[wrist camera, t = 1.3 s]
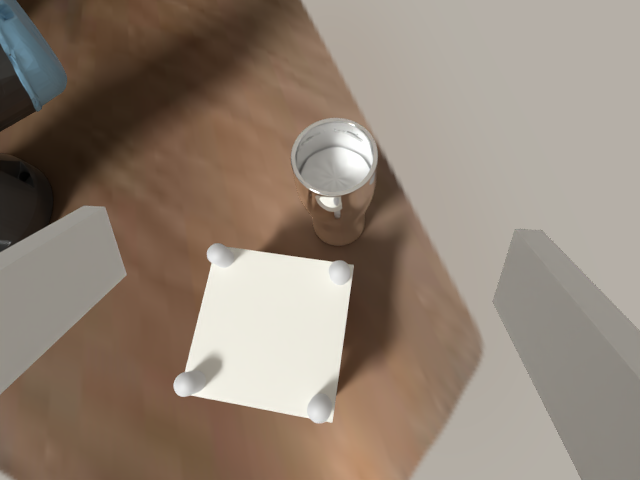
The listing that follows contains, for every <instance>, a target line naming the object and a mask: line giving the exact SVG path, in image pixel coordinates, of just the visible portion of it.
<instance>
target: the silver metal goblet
mask: <svg viewBox="0 0 640 480" xmlns="http://www.w3.org/2000/svg"><path fill="white" fill-rule="evenodd" d="M377 161H378V151H377V146H376V143H375V141H374V139H373V137H372V136H371V134H370V133H369V132H368V131H367V130H366V129H365V128H364V127H363V126H361V125H360V124H358V123H356V122H354V121H351V120H348V119H343V118H329V119H324V120H320V121H318V122H315V123H313V124H311V125H310V126H308V127H307V128H306V129H304V130H303V131H302V132H301V133H300V135H299V136H298V137H297V139H296V141H295V142H294V145H293V148H292V152H291V165H292V169H293V175H294V181H295V185H296V189H297V193H298V195H299V198H300V200H301V202H302V204H303V206H304V207H305V209H306V210H307V211H308V213H309V214H310V215H311V216H312V217H313V219H312V223H313V228H314V231H315V233H316V234H317V236H318V237H319V238H320V239H321V240H322V241H324V242H325V243H327V244H330V245H334V246H343V245H347V244H350V243H352V242H353V241H355V240H356V239H357V238H358V237H359V236H360V235H361V233H362V231H363V229H364V226H365V215H364V213H365V211H366V210H367V208H368V207H369V205H370V203H371V201H372V198H373V195H374V192H375V188H376V181H377Z"/></svg>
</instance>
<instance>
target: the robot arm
mask: <svg viewBox="0 0 640 480" xmlns="http://www.w3.org/2000/svg"><path fill="white" fill-rule="evenodd" d="M66 83H67V77H66V73H65V71H64V69H63V67H62V65H61V63H60V62H59V60H58V58H57V57H56V55H55V54H54V52H53V51H52V49H51V48H50V46H49V45H48V43H47V42H46V40H45V39H44V38H43V36H42V35H41V33H40V32H39V30H38V29H37V28H36V26H35V25H34V24H33V22H32V21H31V20H30V18H29V17H28V15H27V14H26V13H25V11H24V10H23V9H22V7H21V6H20V5H19V3H18V2H17V1H16V0H0V132H1V131H2V130H4V129H6V128H8V127H9V126H11V125H13V124H15V123H16V122H18V121H20V120H21V119H23V118H25V117H27V116H28V115H30V114H32V113H34V112H35V111H37V112H38V111H40V110H41V109H42V106H43V105H44V104H46V103H47V102H49V101H50V100H52V99H53V98H55V97H56V96H58V95H59V94H60V93H62V92H63V90H64V89H65V87H66ZM52 208H53V194H52V189H51V186H50V184H49V181H48V180H47V178H46V177H45V175H44V174H43V173H42V172H41V171H40V170H39V169H37V168H36V167H34V166H32V165H31V164H29V163H27V162H25V161H23V160H21V159H20V158H17V157H15V156H12V155H9V154H4V153H0V394H1V393H2V392H3V391H4V390H5V389H6V388H8V387H9V386H10V385H11V384H12V383H13V382H14V381H15V380H16V379H17V378H18V377H19V376H20V375H21V374H22V373H23V372H24V371H26V370H27V369H28V368H29V367H30V366H31V365H32V364H33V363H34V362H35V361H36V360H37V359H38V358H39V357H40V356H41V355H42V354H44V353H45V352H46V351H47V350H48V349H49V348H50V347H51V346H52V345H53V344H54V343H55V342H56V341H57V340H58V339H59V338H60V337H62V336H63V335H64V334H65V333H66V332H67V331H68V330H69V329H70V328H71V327H72V326H73V325H74V324H75V323H76V322H77V321H78V320H79V319H81V318H82V317H83V316H84V315H85V314H86V313H87V312H88V311H89V310H90V309H91V308H92V307H93V306H94V305H95V304H96V303H97V302H99V301H100V300H101V299H102V298H103V297H104V296H105V295H106V294H107V293H108V292H109V291H110V290H111V289H112V288H113V287H114V286H115V285H117V284H118V283H119V282H120V281H121V280H122V279H123V278H124V277H125V276H126V275H127V274H126V271H125V268H124V265H123V262H122V259H121V255H120V252H119V249H118V246H117V243H116V240H115V237H114V233H113V230H112V227H111V224H110V221H109V218H108V215H107V212H106V208H105V207H98V206H83V207H81V208H79V209H77V210H75V211H74V212H72V213H70V214H68V215H66V216H65V217H63V218H61V219H59V220H57V221H56V222H54V223H52V224H50V225H48V223H49V220H50V217H51V213H52ZM47 225H48V226H47ZM493 304H494V306H495V308H496V310H497V312H498V314H499V316H500V318H501V320H502V322H503V324H504V326H505V328H506V330H507V332H508V334H509V336H510V338H511V340H512V342H513V344H514V346H515V348H516V349H517V352H518V353H519V356H520V358H521V360H522V362H523V364H524V366H525V368H526V370H527V372H528V374H529V376H530V378H531V380H532V382H533V384H534V386H535V388H536V390H537V391H538V394H539V396H540V398H541V399H542V402H543V404H544V406H545V408H546V410H547V411H548V414H549V416H550V418H551V420H552V422H553V423H554V426H555V428H556V430H557V432H558V434H559V436H560V438H561V440H562V442H563V444H564V446H565V448H566V450H567V452H568V453H569V456H570V458H571V460H572V462H573V464H574V465H575V467H576V470H577V471H578V474H579V476H580V478H581V480H640V331H639V329H638V328H637V327H636V326H635V325H634V324H633V323H632V322H631V321H630V320H629V319H628V318H627V317H626V316H625V315H624V314H623V313H622V312H621V311H620V310H619V309H618V308H617V307H616V306H615V305H614V304H613V303H612V302H611V301H610V300H609V299H608V298H607V297H606V296H605V295H604V293H603V292H602V291H601V290H600V289H599V288H598V287H597V286H596V285H594V283H593V282H592V281H591V280H590V279H589V278H588V277H587V276H586V275H585V274H584V273H583V272H582V271H581V270H580V269H579V268H578V267H577V266H576V265H575V264H574V263H573V262H572V261H571V260H570V258H568V257H567V255H566V254H565V253H564V252H563V251H562V250H561V249H560V248H559V247H558V246H557V245H556V244H555V243H554V242H553V241H552V240H551V239H550V238H549V237H548V236H547V235H546V234H545V233H544V232H543V231H542V230H526V229H515V231H514V234H513V237H512V240H511V244H510V247H509V250H508V253H507V257H506V260H505V263H504V267H503V270H502V273H501V276H500V279H499V283H498V286H497V289H496V292H495V295H494V299H493Z"/></svg>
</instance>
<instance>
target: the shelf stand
mask: <svg viewBox="0 0 640 480" xmlns="http://www.w3.org/2000/svg"><path fill="white" fill-rule="evenodd" d="M207 258H208V260H209V261H210V262H212V265H211V269H210V273H209V277H208V281H207V285H206V289H205V293H204V297H203V301H202V305H201V309H200V313H199V317H198V321H197V325H196V329H195V333H194V337H193V341H192V345H191V349H190V354H189V358H188V362H187V366H186V370H185V372H184V373H181V374H179V375H178V376H177V377H176V379H175V381H174V390H175V392H176V394H178V395H179V396H182V397H186V396H189V395H192V396H198V397H203V398H208V399H213V400H218V401H223V402H228V403H233V404H239V405H244V406H249V407H254V408H259V409H264V410H269V411H275V412H280V413H285V414H290V415H295V416H300V417H305V418H310V419H311V420H312V421H313V422H315V423H323V422H325V421H326V422H331V423H332V421H333V415H334V408H335V400H336V393H337V386H338V378H339V371H340V364H341V356H342V349H343V342H344V335H345V327H346V320H347V313H348V305H349V298H350V291H351V283H352V276H353V269H354V265H351V264H347V263H346V262H344V261H341V260H338V261H335V262H330V261H323V260H316V259H309V258H301V257H294V256H287V255H280V254H273V253H266V252H259V251H252V250H245V249H238V248H230V247H225V246H224V245H223V244H220V243H216V244H213V245H212V246H210V247H209V249H208V251H207Z"/></svg>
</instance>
